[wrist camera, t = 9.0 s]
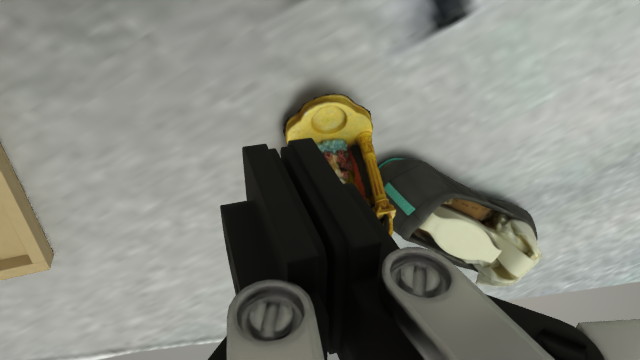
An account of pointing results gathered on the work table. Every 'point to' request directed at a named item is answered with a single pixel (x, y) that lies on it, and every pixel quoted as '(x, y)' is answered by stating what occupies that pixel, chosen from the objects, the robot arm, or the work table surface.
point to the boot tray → (19, 229)
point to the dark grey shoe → (460, 222)
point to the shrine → (344, 146)
